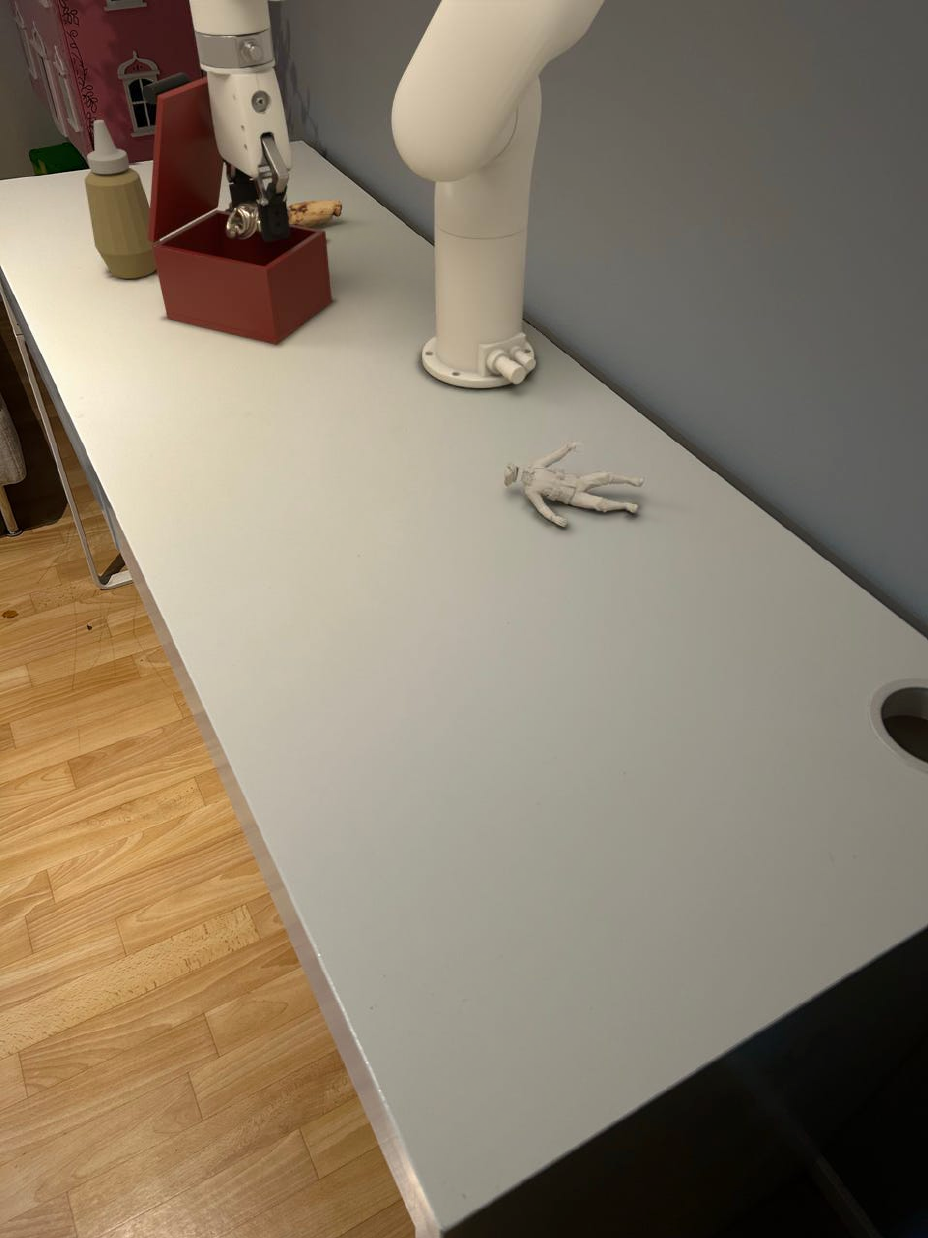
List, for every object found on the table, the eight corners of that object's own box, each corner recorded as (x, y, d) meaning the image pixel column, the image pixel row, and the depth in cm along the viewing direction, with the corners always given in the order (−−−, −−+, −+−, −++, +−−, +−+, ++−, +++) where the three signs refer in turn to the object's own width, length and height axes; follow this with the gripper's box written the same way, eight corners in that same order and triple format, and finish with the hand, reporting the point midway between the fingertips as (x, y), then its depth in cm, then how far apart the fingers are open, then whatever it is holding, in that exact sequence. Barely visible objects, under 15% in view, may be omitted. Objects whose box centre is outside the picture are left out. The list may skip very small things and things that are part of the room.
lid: (235, 70, 103) (197, 48, 103) (163, 99, 94) (122, 74, 95) (218, 207, 115) (184, 187, 115) (153, 243, 107) (116, 221, 107)
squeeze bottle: (174, 259, 126) (143, 112, 113) (153, 285, 120) (119, 132, 107) (115, 256, 126) (79, 109, 114) (92, 281, 120) (51, 130, 108)
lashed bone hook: (231, 260, 127) (357, 237, 132) (225, 225, 123) (354, 203, 128) (215, 233, 132) (336, 212, 137) (209, 199, 129) (333, 179, 134)
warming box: (332, 301, 117) (325, 230, 111) (276, 344, 108) (266, 270, 102) (228, 278, 121) (216, 209, 115) (167, 318, 113) (151, 245, 107)
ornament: (252, 252, 103) (247, 218, 101) (216, 235, 107) (210, 202, 104) (309, 232, 107) (305, 199, 105) (272, 217, 111) (267, 184, 108)
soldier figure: (631, 543, 84) (506, 509, 81) (611, 546, 88) (491, 514, 86) (650, 459, 84) (526, 422, 81) (628, 467, 89) (510, 432, 86)
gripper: (308, 61, 91) (327, 245, 103) (235, 28, 101) (260, 199, 113) (236, 72, 88) (264, 261, 100) (168, 37, 98) (201, 212, 110)
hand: (262, 226), depth 106 cm, fingers closed on ornament, 6 cm apart
